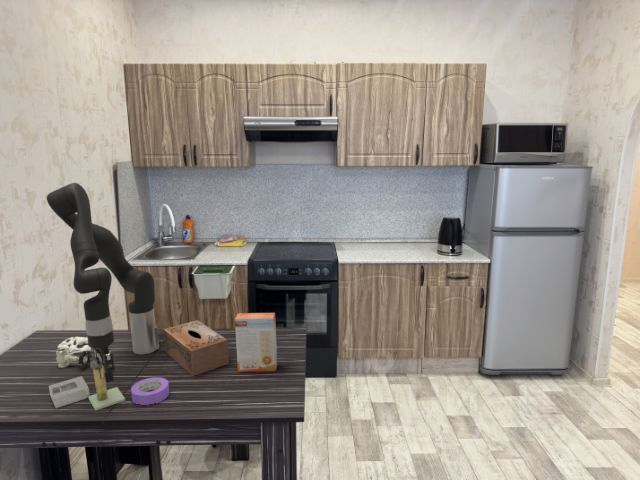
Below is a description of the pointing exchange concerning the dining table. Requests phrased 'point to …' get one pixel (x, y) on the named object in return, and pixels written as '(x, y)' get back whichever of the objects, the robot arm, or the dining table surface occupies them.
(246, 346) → the cracker box
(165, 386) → the masking tape
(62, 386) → the block
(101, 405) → the pad
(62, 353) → the valve
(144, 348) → the robot arm
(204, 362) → the tissue box cover
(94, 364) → the knob
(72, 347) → the tangled rod sculpture
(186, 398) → the dining table surface
